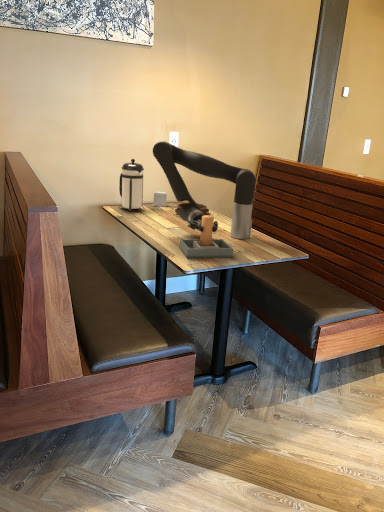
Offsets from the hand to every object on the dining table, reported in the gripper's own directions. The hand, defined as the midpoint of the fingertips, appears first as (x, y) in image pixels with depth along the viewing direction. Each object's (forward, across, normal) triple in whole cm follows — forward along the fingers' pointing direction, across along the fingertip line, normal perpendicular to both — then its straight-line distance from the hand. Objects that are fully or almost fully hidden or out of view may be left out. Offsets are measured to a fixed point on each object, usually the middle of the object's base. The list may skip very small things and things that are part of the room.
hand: (208, 229), depth 176 cm
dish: (-76, +13, +12) cm, 78 cm away
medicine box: (-96, -3, +12) cm, 97 cm away
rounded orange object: (-3, 0, +7) cm, 7 cm away
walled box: (-2, 0, +11) cm, 11 cm away
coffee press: (-86, -23, +12) cm, 90 cm away
